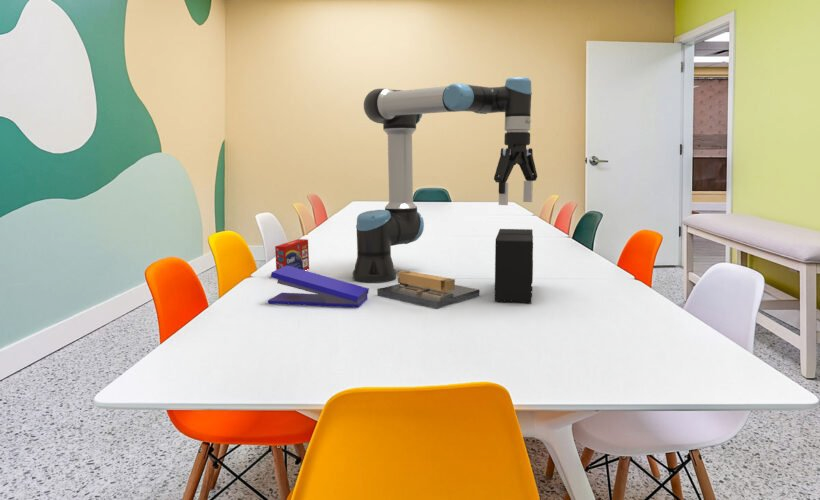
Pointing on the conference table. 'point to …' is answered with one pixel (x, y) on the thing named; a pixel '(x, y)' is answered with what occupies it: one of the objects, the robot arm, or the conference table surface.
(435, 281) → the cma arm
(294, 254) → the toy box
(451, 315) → the conference table surface
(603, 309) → the conference table surface
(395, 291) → the server board
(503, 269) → the speaker
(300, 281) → the stapler
